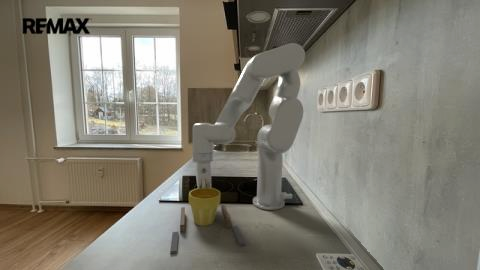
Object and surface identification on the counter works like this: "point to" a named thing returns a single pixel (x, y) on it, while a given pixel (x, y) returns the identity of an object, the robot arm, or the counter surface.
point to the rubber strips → (175, 239)
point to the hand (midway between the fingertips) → (202, 204)
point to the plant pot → (204, 205)
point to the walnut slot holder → (224, 212)
